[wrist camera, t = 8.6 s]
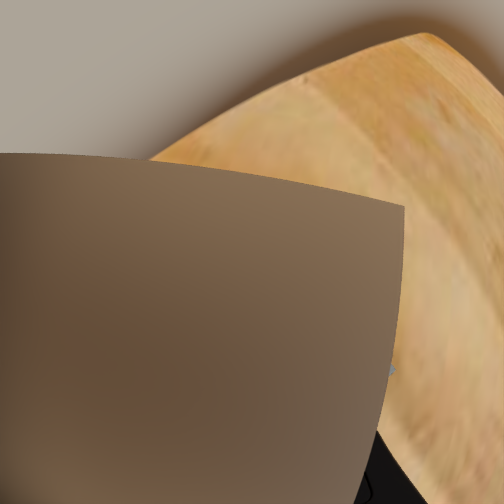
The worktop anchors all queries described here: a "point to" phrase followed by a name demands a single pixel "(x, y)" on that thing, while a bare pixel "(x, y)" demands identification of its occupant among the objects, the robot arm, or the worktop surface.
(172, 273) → the stool
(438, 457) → the worktop surface
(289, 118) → the worktop surface
